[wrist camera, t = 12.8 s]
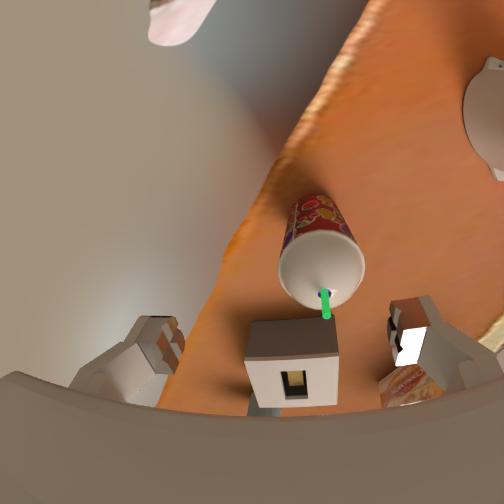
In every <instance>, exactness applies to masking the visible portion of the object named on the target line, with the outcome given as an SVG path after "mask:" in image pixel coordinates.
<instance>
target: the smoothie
mask: <svg viewBox="0 0 504 504" xmlns="http://www.w3.org/2000/svg"><path fill="white" fill-rule="evenodd" d="M365 268H366V267H365V260H364V255H363V253H362V252H361V250H360V248H359V246H358V245H357V243H356V241H355V239H354V237H353V235H352V233H351V231H350V229H349V227H348V225H347V224H346V222H345V220H344V218H343V216H342V214H341V213H340V211H339V209H338V207H337V206H336V204H335V203H334V202H333V201H331V200H330V199H329V198H327V197H324V196H321V195H309V196H306V197H303V198H301V199H300V200H298V201H297V202H296V203H295V204H294V206H293V207H292V209H291V211H290V214H289V219H288V223H287V228H286V232H285V237H284V242H283V246H282V251H281V255H280V259H279V261H278V277H279V280H280V283H281V286H282V287H283V288H284V289H285V291H286V292H287V293H288V295H290V296H291V297H293V298H294V300H296V301H297V302H299V303H300V304H302V305H303V306H305V307H308V308H311V309H314V310H322V316H323V318H324V319H329V318H330V317H331V312H330V309H332V308H335V307H337V306H339V305H341V304H343V303H344V302H345V301H347V300H348V299H349V298H350V297H351V296H352V295H353V293H354V292H355V290H356V289H357V288H358V286H359V285H360V283H361V281H362V280H363V276H364V272H365Z"/></svg>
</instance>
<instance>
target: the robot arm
mask: <svg viewBox="0 0 504 504" xmlns="http://www.w3.org/2000/svg"><path fill="white" fill-rule="evenodd" d="M499 66H500V68H499ZM463 116H464V123H465V128H466V132H467V135H468V138H469V140H470V142H471V144H472V146H473V148H474V149H475V151H476V152H477V153H478V155H479V156H480V157H481V158H482V159H483V160H484V161H485V162H486V163H487V164H488V165H489V168H490V170H491V173H492V175H493V177H494V178H495V179H496V180H499V181H504V61H502V60H500V59H498V58H496V57H488V58H487V60H486V62H485V65H484V67H483V70H482V71H481V72H480V73H478V74H477V75H476V76H475V77H474V78H473V79H472V80H471V82H470V83H469V85H468V87H467V90H466V93H465V97H464V104H463ZM389 310H390V313H391V316H390V317H389V318H388V324H387V334H388V339H389V343H390V344H391V345H392V346H393V350H392V354H393V358H394V362H395V365H396V366H401V365H408V364H414V363H417V365H418V366H419V367H421V368H422V369H423V370H424V371H425V372H426V373H427V374H428V375H429V376H430V377H431V378H432V379H433V380H434V381H435V382H436V383H437V384H438V385H439V386H440V387H441V388H442V389H443V390H444V391H445V393H444V395H443V396H441V397H437V398H433V399H428V400H424V401H419V402H414V403H409V404H404V405H399V406H393V407H387V408H381V409H374V410H367V411H359V412H350V413H340V414H329V415H315V416H292V417H252V416H228V415H214V414H202V413H192V412H183V411H175V410H168V409H161V408H154V407H148V406H142V405H137V404H132V403H127V401H128V400H129V399H130V398H131V397H132V396H134V395H135V394H136V393H137V392H138V391H139V390H140V389H141V388H142V387H143V386H144V385H146V384H147V383H148V382H149V381H150V380H151V379H152V378H153V377H154V376H155V375H156V374H169V375H174V374H175V371H176V369H177V366H178V364H179V361H178V359H177V358H178V357H179V356H181V355H182V354H183V351H184V347H185V340H184V336H183V334H182V332H181V331H180V330H179V329H177V325H178V322H177V320H176V318H175V317H173V316H140V317H139V318H138V319H137V321H136V323H135V324H134V326H133V327H132V329H131V330H130V332H129V334H128V335H127V337H126V339H125V340H124V342H119V343H118V344H116V345H115V346H113V347H112V348H110V349H109V350H107V351H106V352H104V353H103V354H101V355H100V356H98V357H97V358H95V359H94V360H92V361H91V362H89V363H88V364H86V365H84V366H83V367H82V368H80V369H79V371H78V373H77V374H76V376H75V377H74V379H73V381H72V382H71V384H70V386H69V387H68V388H66V387H63V386H60V385H56V384H53V383H50V382H47V381H44V380H41V379H38V378H36V377H33V376H30V375H28V374H25V373H23V372H20V371H14V372H12V373H9V374H7V375H6V376H4V377H2V378H0V504H504V373H503V371H502V369H501V366H500V364H499V362H498V360H497V358H496V356H495V354H494V352H493V351H491V350H490V349H488V348H486V347H485V346H483V345H482V344H480V343H479V342H477V341H476V340H474V339H472V338H471V337H469V336H468V335H466V334H465V333H463V332H461V331H460V330H458V329H457V328H455V327H453V326H452V325H450V324H449V323H446V324H445V323H444V321H443V319H442V317H441V315H440V314H439V312H438V310H437V308H436V306H435V304H434V302H433V300H432V298H431V296H429V295H425V296H419V297H415V298H408V299H401V300H394V301H391V303H390V308H389Z"/></svg>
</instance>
